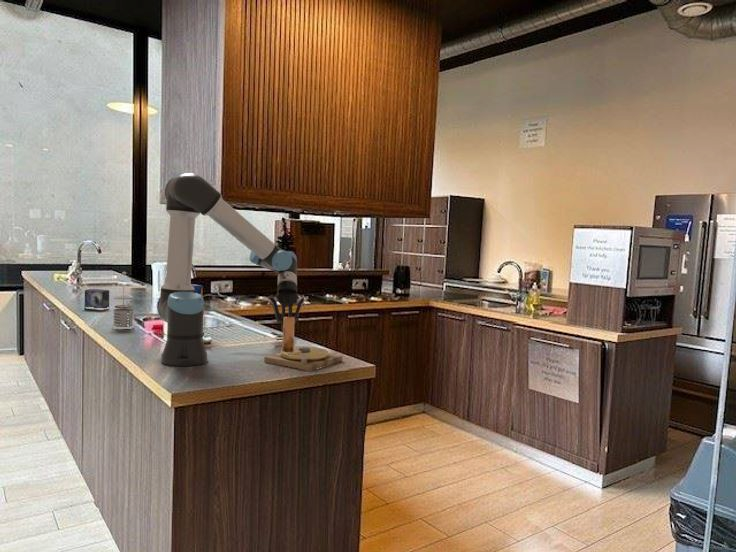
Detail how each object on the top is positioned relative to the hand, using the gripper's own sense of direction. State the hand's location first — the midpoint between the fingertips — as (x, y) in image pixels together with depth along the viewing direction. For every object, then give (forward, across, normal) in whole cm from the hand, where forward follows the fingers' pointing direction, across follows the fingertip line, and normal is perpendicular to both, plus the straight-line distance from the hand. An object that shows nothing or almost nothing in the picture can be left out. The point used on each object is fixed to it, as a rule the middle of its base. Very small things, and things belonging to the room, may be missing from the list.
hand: (286, 337), depth 200 cm
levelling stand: (+9, +7, +2) cm, 11 cm away
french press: (-32, -68, +48) cm, 89 cm away
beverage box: (-20, -39, +35) cm, 56 cm away
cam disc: (+7, +7, +1) cm, 10 cm away
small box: (-68, -93, +87) cm, 144 cm away
